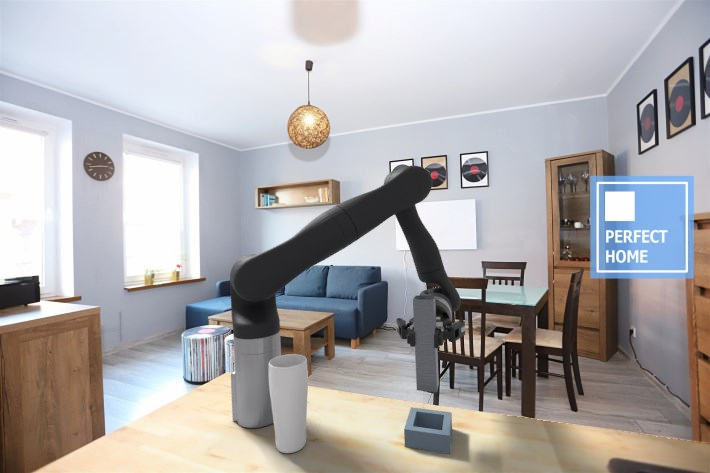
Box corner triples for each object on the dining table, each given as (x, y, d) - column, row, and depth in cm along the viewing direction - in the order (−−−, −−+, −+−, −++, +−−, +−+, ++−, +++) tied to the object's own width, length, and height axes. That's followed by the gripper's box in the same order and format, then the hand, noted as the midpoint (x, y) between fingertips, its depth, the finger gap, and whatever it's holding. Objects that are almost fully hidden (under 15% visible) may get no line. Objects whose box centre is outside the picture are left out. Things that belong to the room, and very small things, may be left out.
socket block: (404, 446, 58) (404, 429, 58) (411, 422, 65) (410, 407, 65) (450, 453, 56) (449, 435, 56) (452, 428, 63) (451, 412, 63)
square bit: (416, 390, 59) (412, 299, 59) (419, 381, 63) (415, 295, 62) (437, 392, 58) (433, 299, 58) (438, 383, 61) (435, 295, 61)
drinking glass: (302, 459, 55) (299, 368, 55) (264, 456, 57) (260, 367, 57) (315, 435, 62) (312, 354, 62) (281, 432, 63) (277, 352, 63)
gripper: (400, 298, 76) (382, 318, 60) (466, 299, 71) (466, 321, 55) (402, 331, 76) (384, 360, 60) (468, 335, 72) (468, 367, 55)
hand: (424, 341), depth 58 cm, fingers closed on square bit, 3 cm apart
